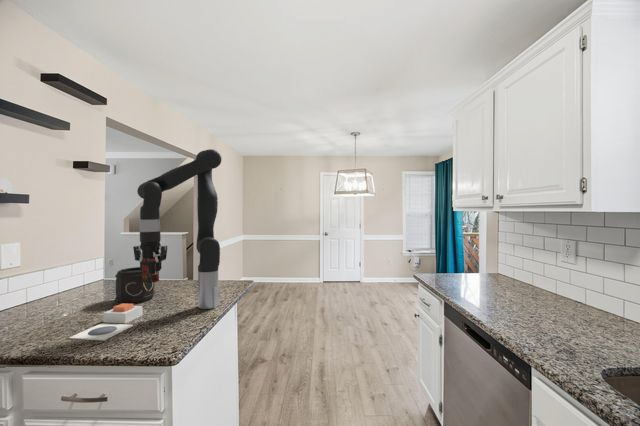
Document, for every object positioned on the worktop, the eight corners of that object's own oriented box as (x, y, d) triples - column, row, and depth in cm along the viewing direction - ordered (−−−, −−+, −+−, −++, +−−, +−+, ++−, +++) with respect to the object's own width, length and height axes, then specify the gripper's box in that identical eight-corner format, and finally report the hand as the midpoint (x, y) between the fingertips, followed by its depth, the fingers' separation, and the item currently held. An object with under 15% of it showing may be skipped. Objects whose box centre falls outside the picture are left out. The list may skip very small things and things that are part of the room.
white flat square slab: (133, 325, 122) (133, 324, 122) (104, 340, 108) (104, 339, 108) (101, 324, 123) (101, 323, 123) (69, 338, 109) (69, 337, 109)
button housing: (142, 315, 134) (142, 306, 134) (125, 323, 124) (125, 313, 124) (121, 314, 135) (121, 305, 135) (103, 322, 125) (103, 312, 125)
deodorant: (146, 279, 129) (146, 244, 129) (161, 279, 129) (161, 244, 129) (139, 283, 123) (139, 246, 123) (155, 282, 123) (154, 246, 123)
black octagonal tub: (163, 297, 161) (163, 268, 161) (127, 306, 146) (126, 274, 146) (145, 293, 171) (145, 265, 171) (109, 301, 156) (109, 270, 156)
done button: (133, 310, 132) (133, 303, 132) (124, 314, 127) (124, 307, 127) (122, 310, 133) (122, 303, 133) (113, 314, 128) (113, 307, 127)
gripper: (171, 229, 129) (172, 269, 129) (140, 229, 131) (141, 268, 131) (160, 231, 121) (161, 273, 121) (127, 231, 123) (128, 272, 123)
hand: (150, 270), depth 126 cm, fingers closed on deodorant, 6 cm apart
